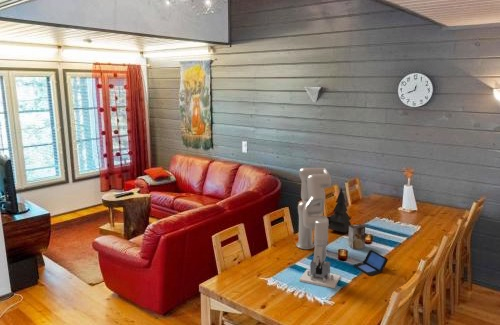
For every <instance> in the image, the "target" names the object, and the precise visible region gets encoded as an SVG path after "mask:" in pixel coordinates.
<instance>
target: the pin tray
mask: <svg viewBox="0 0 500 325" xmlns="http://www.w3.org/2000/svg"><path fill="white" fill-rule="evenodd" d="M340 280H341V275H339V274H334V273H330V276H329V278H328V279H325V277H323V278H320V277H315V276H313V275H311V276H310V268H309V269H307V268H306V270H305V271H304V272H303V274H302V275H301V276H300V278H299V279H298V281H299V282H303V283H306V284H307V283H308V284H310V285H311V284H312V285H316V286H321V287H325V288H331V289H335V288H336V287H337V285H338V284H339V281H340Z"/></svg>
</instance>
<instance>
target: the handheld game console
mask: <svg viewBox="0 0 500 325" xmlns="http://www.w3.org/2000/svg"><path fill="white" fill-rule="evenodd" d="M388 261H389V259H388V258H387V257H385V256H383V255H382V254H380V253H378V252H377V251H374V250H373V249H369V250H368V252H367V254H366V256H365V258H364V260H363V261H362V262H359V263H354V264H353V267H354V268H356V269H357V270H359V271H360V272H362V273H363V274H365V275H367V276H368V277H373V276H377V275H380V274H382V273H383V271H384V268H385V266H386V265H387V263H388Z"/></svg>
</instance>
